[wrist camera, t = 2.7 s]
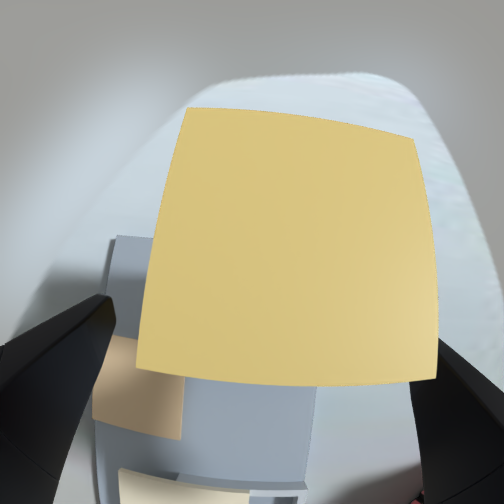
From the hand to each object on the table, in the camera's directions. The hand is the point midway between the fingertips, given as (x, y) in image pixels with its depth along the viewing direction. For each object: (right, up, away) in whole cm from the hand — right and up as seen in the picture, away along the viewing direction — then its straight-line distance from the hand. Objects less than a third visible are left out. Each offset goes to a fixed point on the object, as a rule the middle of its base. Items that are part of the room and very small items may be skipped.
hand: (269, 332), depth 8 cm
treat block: (0, -1, +9) cm, 9 cm away
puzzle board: (-4, -8, +7) cm, 11 cm away
